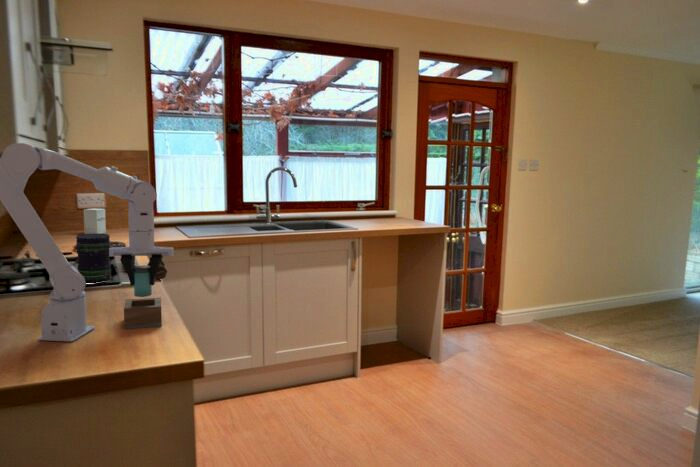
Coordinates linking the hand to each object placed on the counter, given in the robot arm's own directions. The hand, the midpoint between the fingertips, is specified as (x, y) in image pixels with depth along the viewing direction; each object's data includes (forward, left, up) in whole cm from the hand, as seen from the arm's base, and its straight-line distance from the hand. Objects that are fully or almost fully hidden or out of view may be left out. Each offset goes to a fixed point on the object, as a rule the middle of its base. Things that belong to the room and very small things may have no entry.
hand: (142, 284), depth 126 cm
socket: (0, 0, -10) cm, 10 cm away
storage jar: (+38, +33, -10) cm, 51 cm away
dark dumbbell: (+49, +17, -10) cm, 53 cm away
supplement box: (+132, +84, -10) cm, 156 cm away
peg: (0, 0, -3) cm, 3 cm away
